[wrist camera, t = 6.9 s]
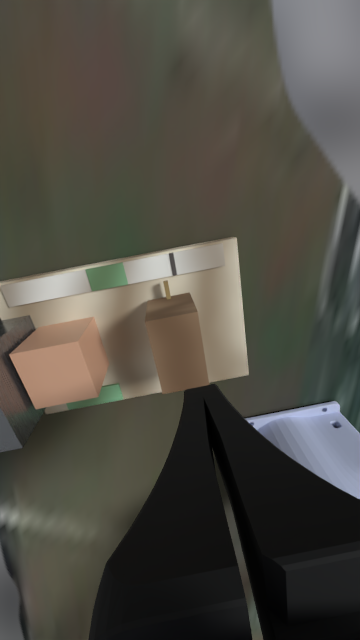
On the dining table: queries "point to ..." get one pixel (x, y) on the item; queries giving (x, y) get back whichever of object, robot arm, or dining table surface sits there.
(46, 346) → the peach matte cube
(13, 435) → the grey flat block
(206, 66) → the dining table surface
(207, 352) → the gauge board
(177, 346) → the brown box with peg
